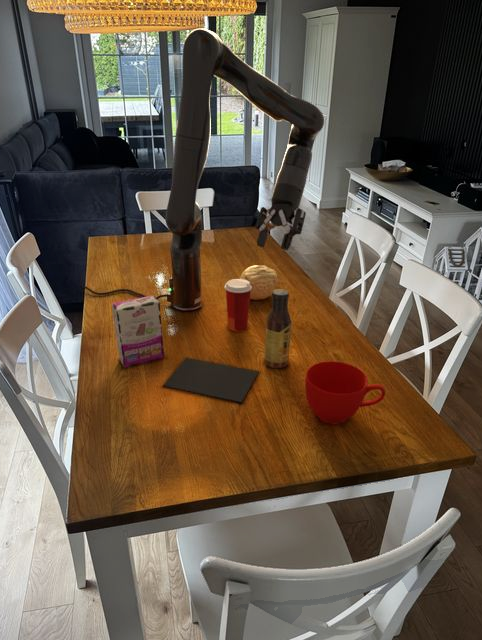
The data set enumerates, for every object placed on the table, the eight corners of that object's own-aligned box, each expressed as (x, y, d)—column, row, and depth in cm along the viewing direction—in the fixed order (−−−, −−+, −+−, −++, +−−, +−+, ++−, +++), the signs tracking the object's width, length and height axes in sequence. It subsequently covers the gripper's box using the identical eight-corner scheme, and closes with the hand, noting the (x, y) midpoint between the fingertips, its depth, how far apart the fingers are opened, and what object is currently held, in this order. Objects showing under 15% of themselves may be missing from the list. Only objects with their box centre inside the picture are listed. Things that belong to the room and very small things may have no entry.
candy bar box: (158, 349, 133) (154, 294, 125) (164, 358, 129) (160, 301, 121) (118, 359, 128) (110, 302, 120) (123, 368, 125) (116, 310, 116)
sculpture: (249, 305, 158) (250, 274, 153) (234, 292, 168) (234, 262, 162) (280, 300, 162) (282, 269, 157) (263, 287, 172) (265, 257, 166)
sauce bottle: (286, 370, 124) (292, 299, 114) (262, 368, 125) (265, 296, 115) (289, 358, 130) (294, 288, 120) (266, 355, 131) (269, 286, 121)
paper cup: (253, 323, 147) (255, 280, 140) (246, 334, 141) (247, 289, 134) (229, 319, 149) (229, 276, 142) (220, 330, 143) (220, 286, 136)
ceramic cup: (382, 439, 101) (390, 399, 96) (300, 429, 104) (304, 390, 99) (377, 402, 112) (384, 365, 108) (303, 394, 115) (307, 358, 110)
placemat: (162, 386, 117) (162, 385, 117) (186, 358, 129) (185, 357, 129) (241, 403, 112) (241, 402, 112) (258, 372, 123) (258, 371, 123)
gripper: (260, 181, 129) (243, 241, 130) (302, 181, 119) (283, 245, 120) (278, 192, 135) (261, 250, 135) (319, 193, 125) (301, 254, 125)
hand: (272, 247), depth 128 cm, fingers open, 8 cm apart
